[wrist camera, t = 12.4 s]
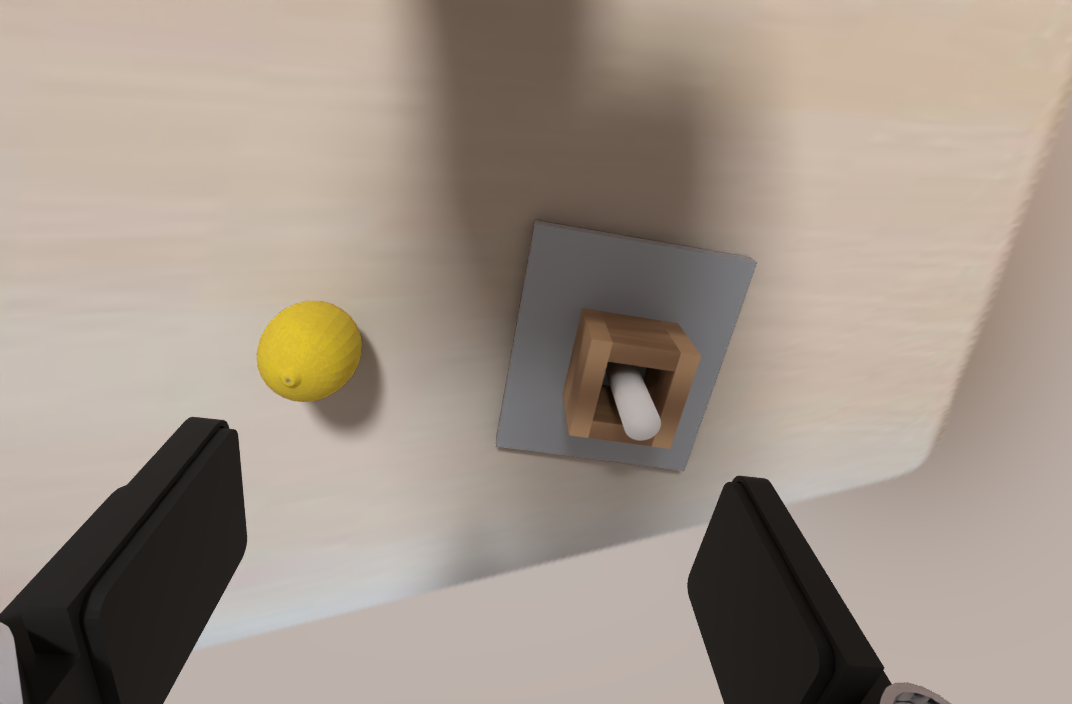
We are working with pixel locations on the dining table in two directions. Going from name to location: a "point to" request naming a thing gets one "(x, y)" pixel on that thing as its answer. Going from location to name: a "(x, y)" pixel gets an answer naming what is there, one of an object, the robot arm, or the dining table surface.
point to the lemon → (309, 351)
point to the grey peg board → (624, 288)
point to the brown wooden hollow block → (633, 345)
